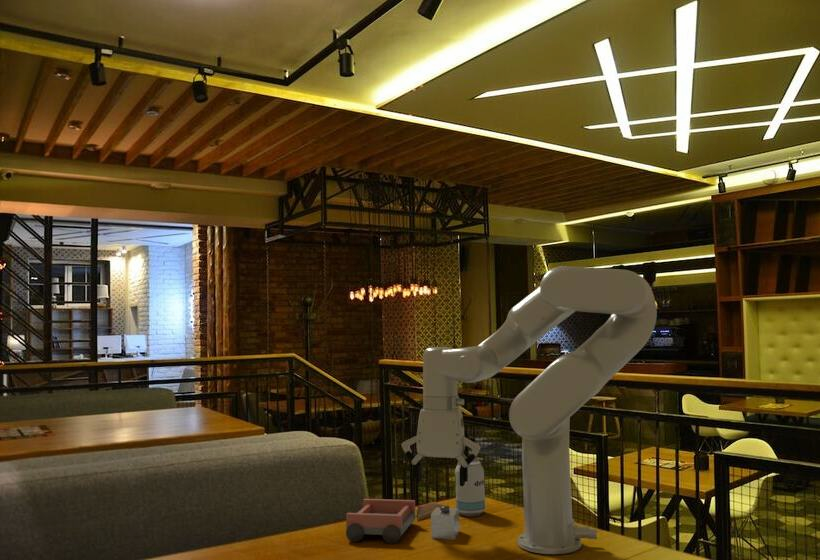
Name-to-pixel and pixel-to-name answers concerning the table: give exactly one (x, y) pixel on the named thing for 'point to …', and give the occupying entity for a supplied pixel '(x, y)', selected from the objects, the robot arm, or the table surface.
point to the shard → (426, 510)
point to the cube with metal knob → (445, 523)
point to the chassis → (381, 519)
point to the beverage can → (471, 490)
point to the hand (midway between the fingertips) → (440, 483)
